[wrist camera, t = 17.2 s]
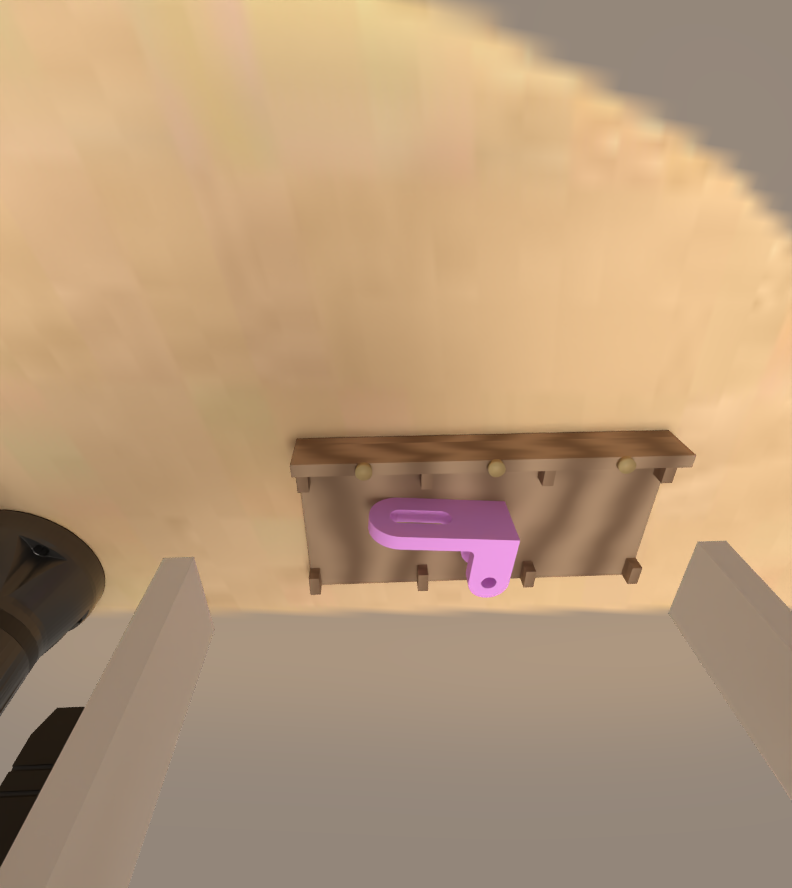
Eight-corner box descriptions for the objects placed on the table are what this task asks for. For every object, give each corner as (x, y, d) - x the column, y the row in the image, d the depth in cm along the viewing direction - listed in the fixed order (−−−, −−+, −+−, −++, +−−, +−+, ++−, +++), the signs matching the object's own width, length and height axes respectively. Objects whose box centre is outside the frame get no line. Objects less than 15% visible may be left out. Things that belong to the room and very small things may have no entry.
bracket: (520, 540, 41) (504, 597, 45) (504, 501, 46) (492, 555, 50) (368, 536, 40) (365, 594, 44) (369, 496, 45) (365, 552, 49)
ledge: (313, 576, 52) (308, 614, 47) (296, 437, 43) (288, 468, 39) (624, 566, 53) (647, 602, 49) (668, 429, 44) (700, 458, 40)
